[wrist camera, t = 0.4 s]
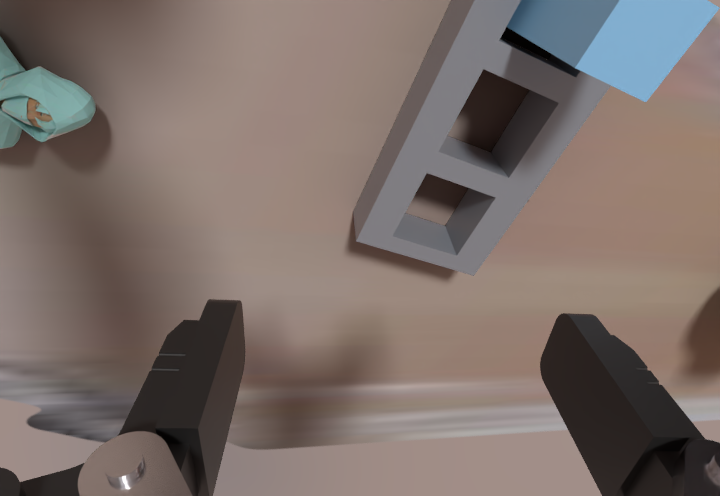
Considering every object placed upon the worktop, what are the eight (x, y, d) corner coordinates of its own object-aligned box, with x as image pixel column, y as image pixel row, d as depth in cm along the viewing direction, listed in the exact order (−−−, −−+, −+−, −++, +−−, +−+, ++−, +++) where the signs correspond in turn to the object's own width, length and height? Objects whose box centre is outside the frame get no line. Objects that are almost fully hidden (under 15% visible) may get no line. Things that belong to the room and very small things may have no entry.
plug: (532, -54, 25) (644, -38, 16) (586, -23, 26) (720, 7, 17) (493, 19, 27) (574, 68, 18) (545, 44, 28) (645, 102, 19)
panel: (508, -123, 23) (537, -129, 20) (649, -38, 26) (695, -31, 23) (353, 211, 35) (356, 241, 32) (461, 245, 38) (473, 275, 34)
